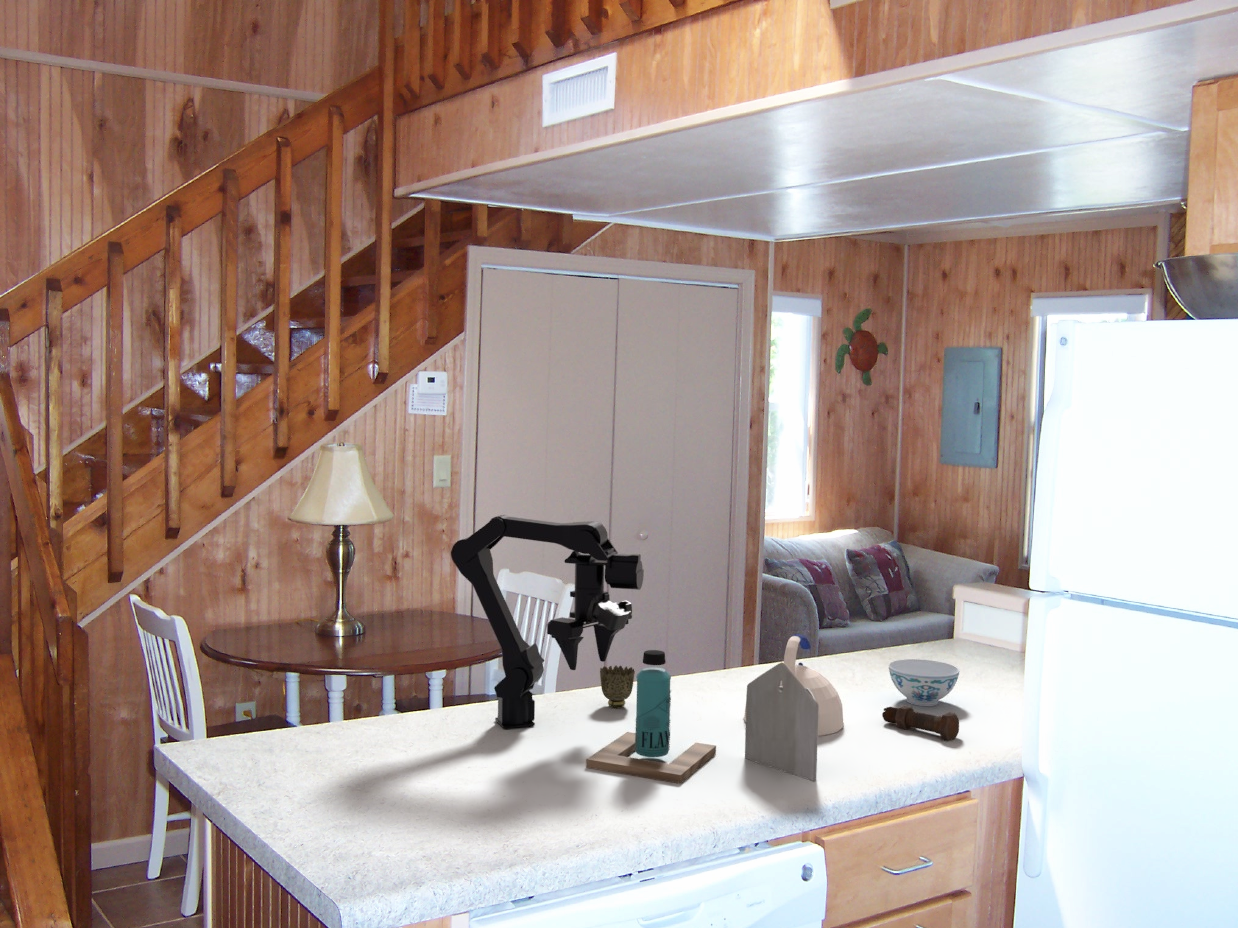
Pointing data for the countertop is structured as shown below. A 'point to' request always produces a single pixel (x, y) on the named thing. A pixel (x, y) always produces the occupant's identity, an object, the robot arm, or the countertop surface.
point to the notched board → (675, 771)
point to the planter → (782, 723)
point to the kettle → (815, 688)
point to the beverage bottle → (653, 707)
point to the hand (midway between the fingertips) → (588, 665)
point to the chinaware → (923, 680)
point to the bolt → (923, 721)
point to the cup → (616, 684)
